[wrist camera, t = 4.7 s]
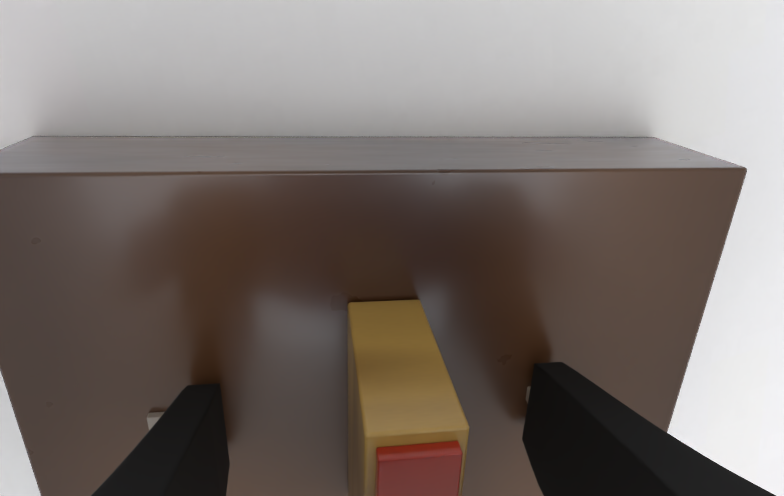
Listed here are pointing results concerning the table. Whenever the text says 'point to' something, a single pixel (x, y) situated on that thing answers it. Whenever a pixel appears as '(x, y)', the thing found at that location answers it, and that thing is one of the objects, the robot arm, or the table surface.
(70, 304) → the lock plate
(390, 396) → the wooden block
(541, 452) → the robot arm
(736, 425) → the table surface
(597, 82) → the table surface
